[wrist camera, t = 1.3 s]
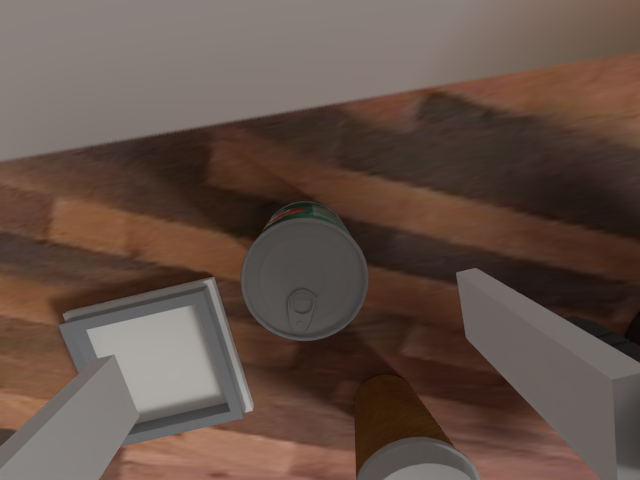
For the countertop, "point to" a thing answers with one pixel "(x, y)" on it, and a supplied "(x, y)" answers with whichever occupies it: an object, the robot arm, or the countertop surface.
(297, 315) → the canned tomato
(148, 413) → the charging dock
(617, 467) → the robot arm
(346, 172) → the countertop surface
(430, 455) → the disposable coffee cup
